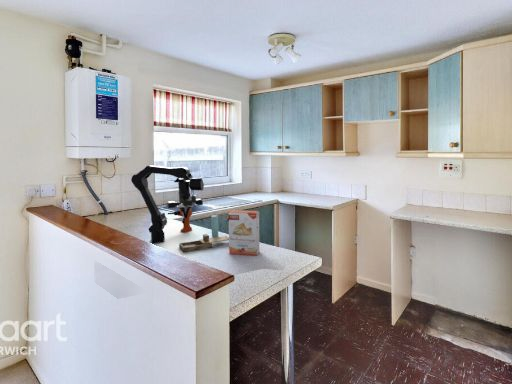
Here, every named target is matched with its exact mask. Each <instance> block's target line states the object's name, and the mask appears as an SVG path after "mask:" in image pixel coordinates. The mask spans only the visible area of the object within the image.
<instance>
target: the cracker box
mask: <svg viewBox="0 0 512 384" xmlns="http://www.w3.org/2000/svg"><path fill="white" fill-rule="evenodd" d="M227 213H228V237H229V240H228V247H229V248H228V250H229V251H228V253H229V254H230V255H242V256H244V255H246V256H258V255H259V253H260V211H259V210H245V209H244V210H240V209H231V210H230V211H228V212H227Z"/></svg>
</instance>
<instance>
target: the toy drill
mask: <svg viewBox="0 0 512 384" xmlns="http://www.w3.org/2000/svg"><path fill="white" fill-rule="evenodd" d="M167 215H174V216H178V217H182V221H181V223H182V224H183V226H182V228H181V229H180V233H188V232H191V231H193V228H192V226H191V223H190V218H191V216H192V215H193V211H192V209H190V210H189V212H188V215H187V219H184V216H183V214H182V212H181V210H180V209H179V210H174V211H173V212H168V213H167Z"/></svg>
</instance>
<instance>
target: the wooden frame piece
mask: <svg viewBox="0 0 512 384" xmlns="http://www.w3.org/2000/svg"><path fill="white" fill-rule="evenodd" d="M199 240H200V239H199ZM199 240H193V241H184V242H178V248H179V249H180V251H182V253H189V252H196V251H203V250H208V249H214V248H213V246H214V245H213V243H208V244H203V243H201V242H200V241H199Z"/></svg>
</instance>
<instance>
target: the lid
mask: <svg viewBox="0 0 512 384" xmlns="http://www.w3.org/2000/svg"><path fill="white" fill-rule="evenodd" d="M199 241H200V242H201V243H203V244H208V243H212V244H213V243H219V242H225V241H229V236H227V235H222V236H221V235H220V236H218V237H214V238H212V237H210V235H208V234H207V233H204V234H202V238H201V239H199Z"/></svg>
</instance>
